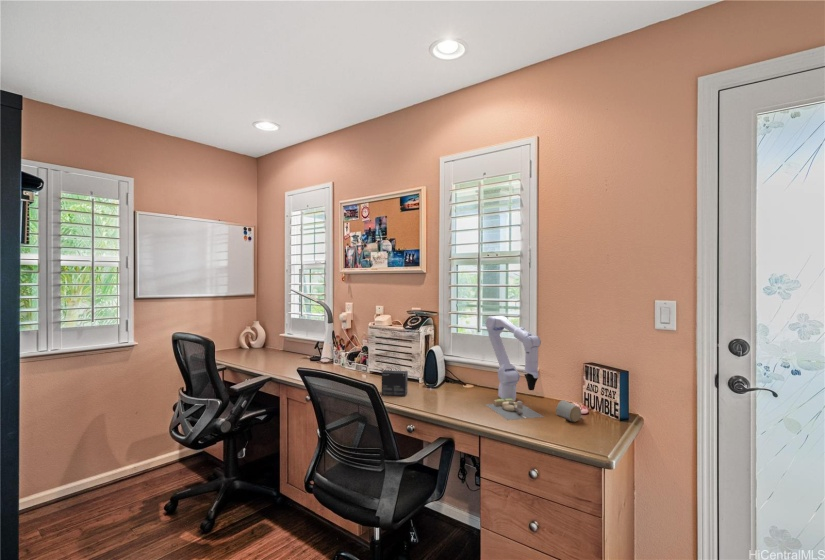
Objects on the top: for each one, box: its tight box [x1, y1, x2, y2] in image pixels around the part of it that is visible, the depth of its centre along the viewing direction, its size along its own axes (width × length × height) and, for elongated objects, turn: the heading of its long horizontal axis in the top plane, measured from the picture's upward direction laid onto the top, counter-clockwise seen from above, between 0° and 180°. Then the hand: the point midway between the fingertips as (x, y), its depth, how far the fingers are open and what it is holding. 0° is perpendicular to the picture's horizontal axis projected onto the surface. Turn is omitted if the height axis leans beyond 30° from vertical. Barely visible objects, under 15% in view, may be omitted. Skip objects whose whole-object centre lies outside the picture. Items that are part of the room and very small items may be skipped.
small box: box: [381, 369, 409, 397], centre depth 213 cm, size 13×7×12 cm, turn 82°
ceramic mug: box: [555, 400, 583, 423], centre depth 178 cm, size 11×8×8 cm
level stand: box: [484, 398, 545, 421], centre depth 184 cm, size 22×18×4 cm
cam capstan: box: [502, 400, 524, 414], centre depth 184 cm, size 13×8×5 cm, turn 14°
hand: (531, 389), depth 190 cm, fingers closed
